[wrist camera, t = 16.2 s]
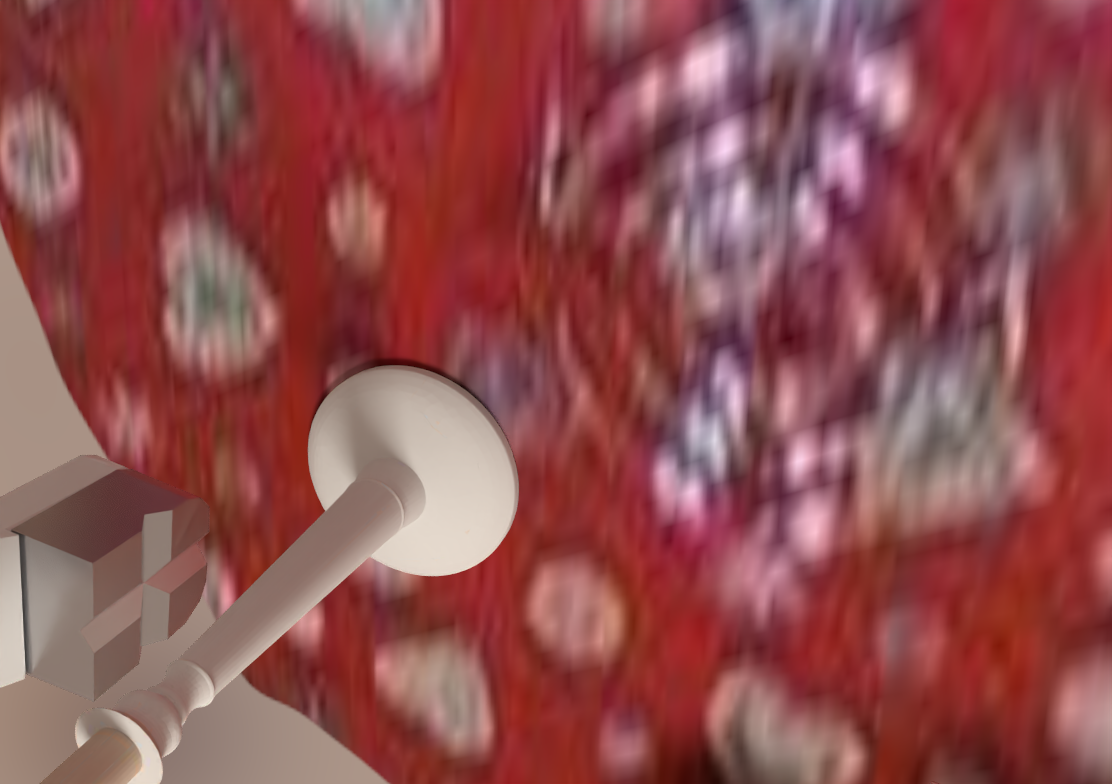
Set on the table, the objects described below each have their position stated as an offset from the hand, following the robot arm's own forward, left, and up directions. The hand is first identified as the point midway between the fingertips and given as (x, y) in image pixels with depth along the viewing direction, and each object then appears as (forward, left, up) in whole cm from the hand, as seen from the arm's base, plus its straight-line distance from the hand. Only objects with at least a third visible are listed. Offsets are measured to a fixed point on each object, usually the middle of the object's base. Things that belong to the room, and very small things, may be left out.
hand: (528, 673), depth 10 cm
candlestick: (-15, -20, -34) cm, 42 cm away
